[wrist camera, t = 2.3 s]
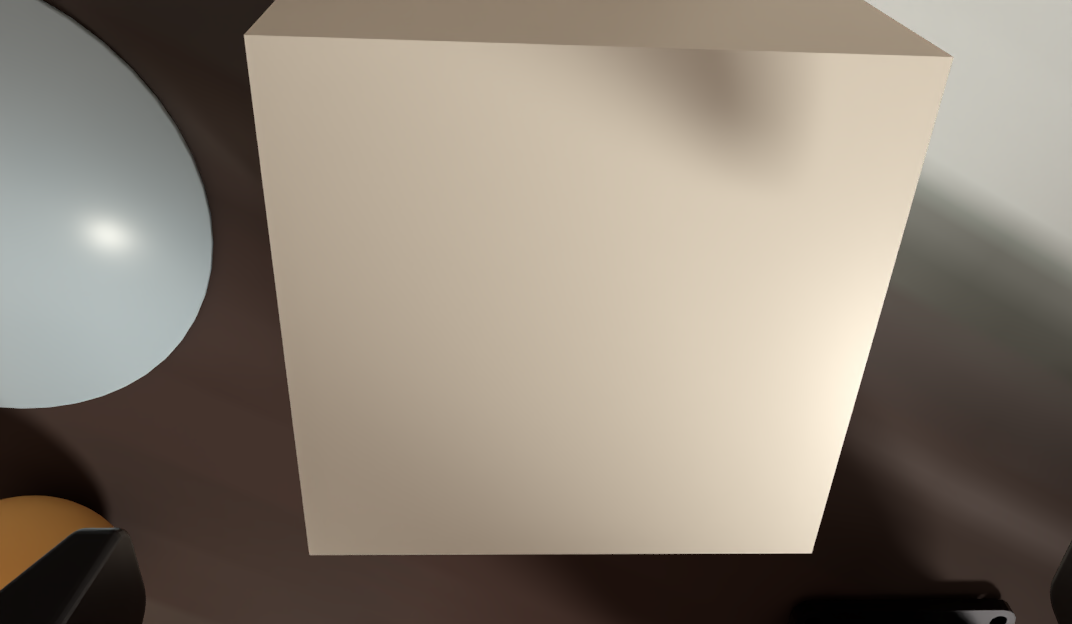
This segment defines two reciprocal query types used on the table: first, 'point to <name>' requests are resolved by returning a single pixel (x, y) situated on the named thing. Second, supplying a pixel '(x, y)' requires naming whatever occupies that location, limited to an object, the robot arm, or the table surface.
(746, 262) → the block
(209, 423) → the table surface
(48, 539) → the ball
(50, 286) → the disc
